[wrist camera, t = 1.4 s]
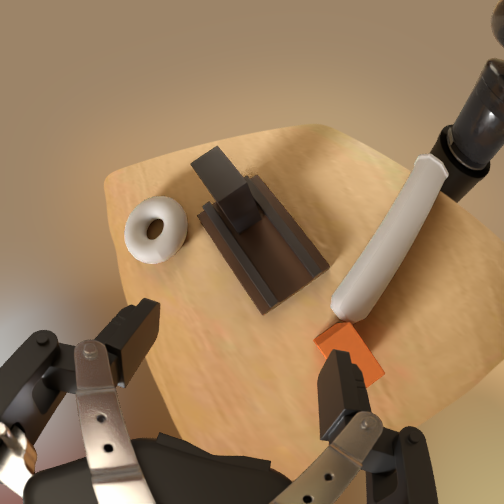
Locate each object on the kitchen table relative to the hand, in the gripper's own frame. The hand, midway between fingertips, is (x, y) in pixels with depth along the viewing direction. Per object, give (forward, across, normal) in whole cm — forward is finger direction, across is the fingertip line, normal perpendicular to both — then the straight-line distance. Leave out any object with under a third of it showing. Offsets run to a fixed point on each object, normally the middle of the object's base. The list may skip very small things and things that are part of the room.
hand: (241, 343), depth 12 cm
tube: (+25, -16, -1) cm, 29 cm away
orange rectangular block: (+17, -12, +12) cm, 24 cm away
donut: (+27, +15, +7) cm, 32 cm away
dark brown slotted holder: (+25, +1, +4) cm, 26 cm away
